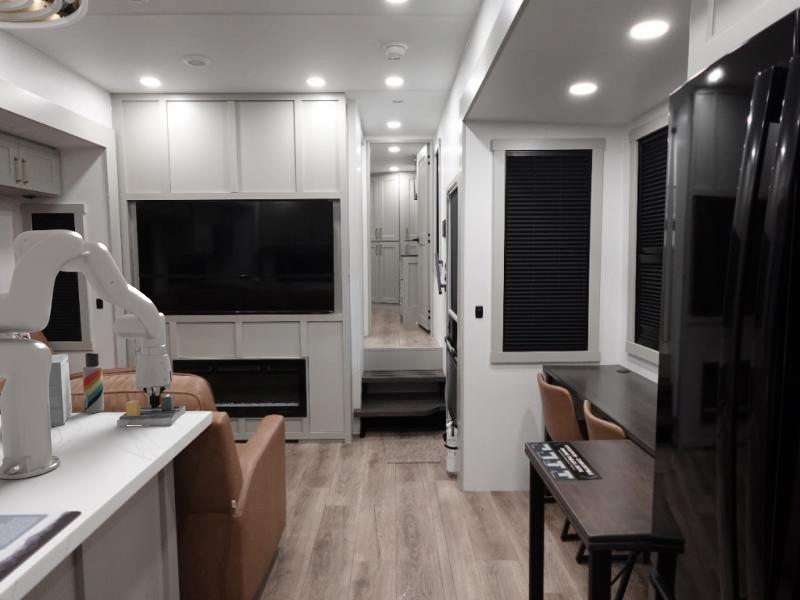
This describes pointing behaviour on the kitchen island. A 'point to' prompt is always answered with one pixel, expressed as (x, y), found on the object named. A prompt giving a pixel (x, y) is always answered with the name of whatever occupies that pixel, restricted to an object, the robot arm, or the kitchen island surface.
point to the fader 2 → (167, 402)
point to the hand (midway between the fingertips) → (155, 407)
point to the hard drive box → (59, 390)
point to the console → (152, 416)
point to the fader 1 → (133, 408)
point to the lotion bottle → (93, 384)
